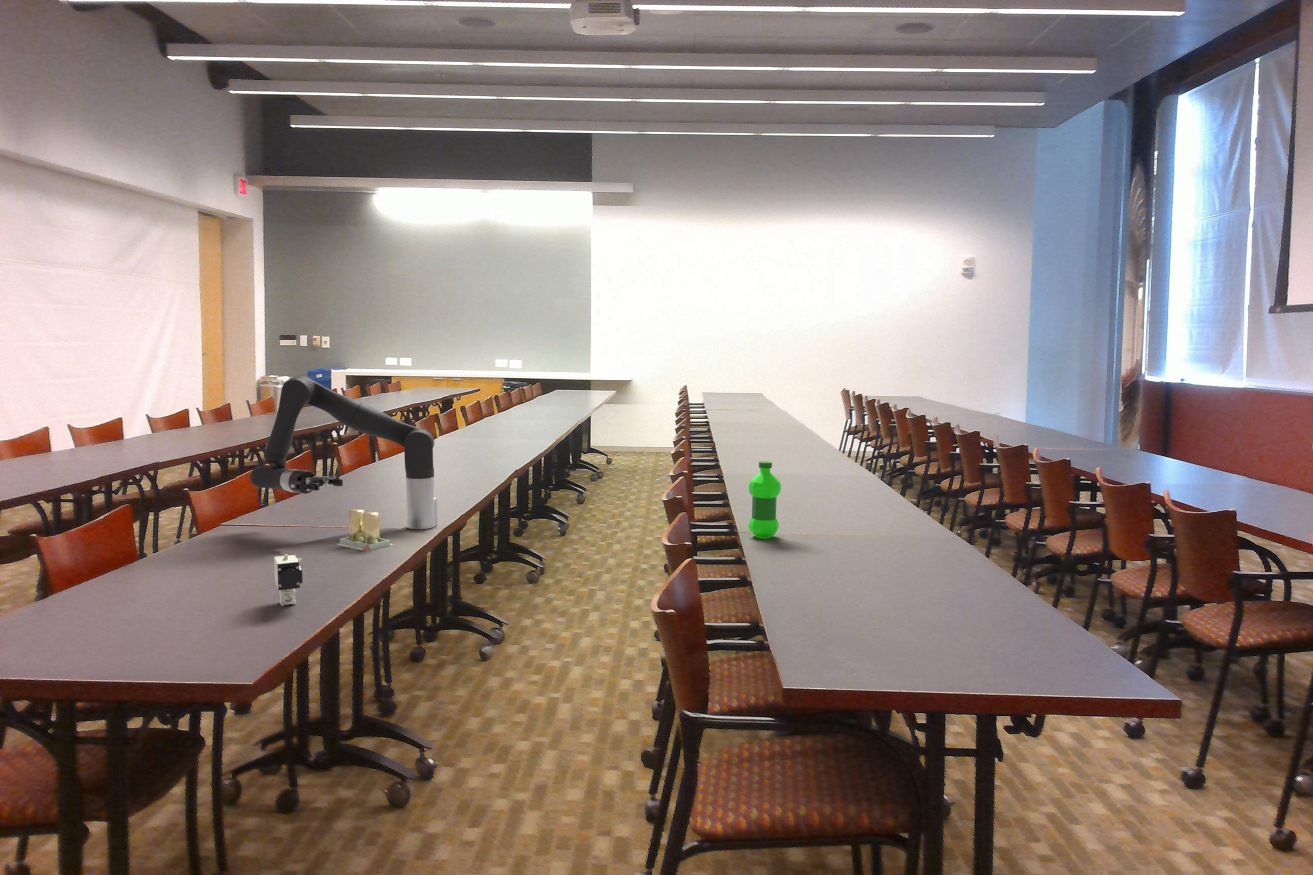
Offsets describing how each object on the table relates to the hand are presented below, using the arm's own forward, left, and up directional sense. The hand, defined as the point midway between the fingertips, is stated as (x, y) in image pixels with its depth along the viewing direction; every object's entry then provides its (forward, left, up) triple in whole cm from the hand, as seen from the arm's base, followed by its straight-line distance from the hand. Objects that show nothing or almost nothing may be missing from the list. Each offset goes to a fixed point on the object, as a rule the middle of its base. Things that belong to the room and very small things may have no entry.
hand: (330, 484), depth 268 cm
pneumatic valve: (+46, +47, -18) cm, 68 cm away
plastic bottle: (-86, +109, -18) cm, 140 cm away
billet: (+1, +14, -16) cm, 21 cm away
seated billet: (+1, +20, -16) cm, 26 cm away
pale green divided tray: (+1, +17, -18) cm, 25 cm away
